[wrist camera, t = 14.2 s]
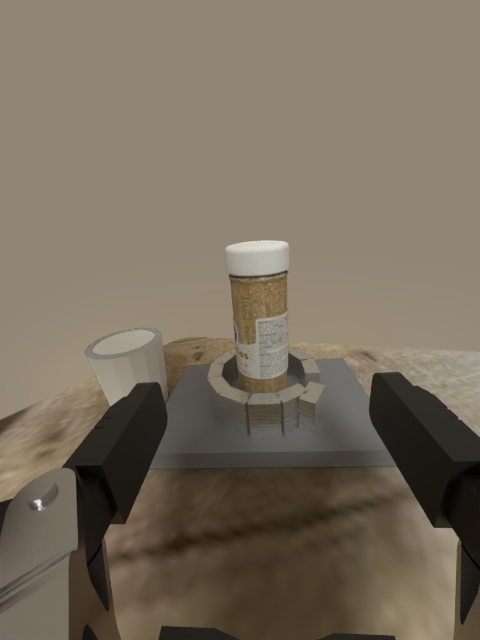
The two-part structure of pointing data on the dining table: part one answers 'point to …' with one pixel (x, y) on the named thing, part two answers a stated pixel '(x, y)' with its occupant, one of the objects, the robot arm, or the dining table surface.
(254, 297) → the sprinkles bottle
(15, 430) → the dining table surface
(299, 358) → the stone block collar
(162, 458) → the socket plate
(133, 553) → the dining table surface
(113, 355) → the white tapered cup
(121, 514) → the robot arm
